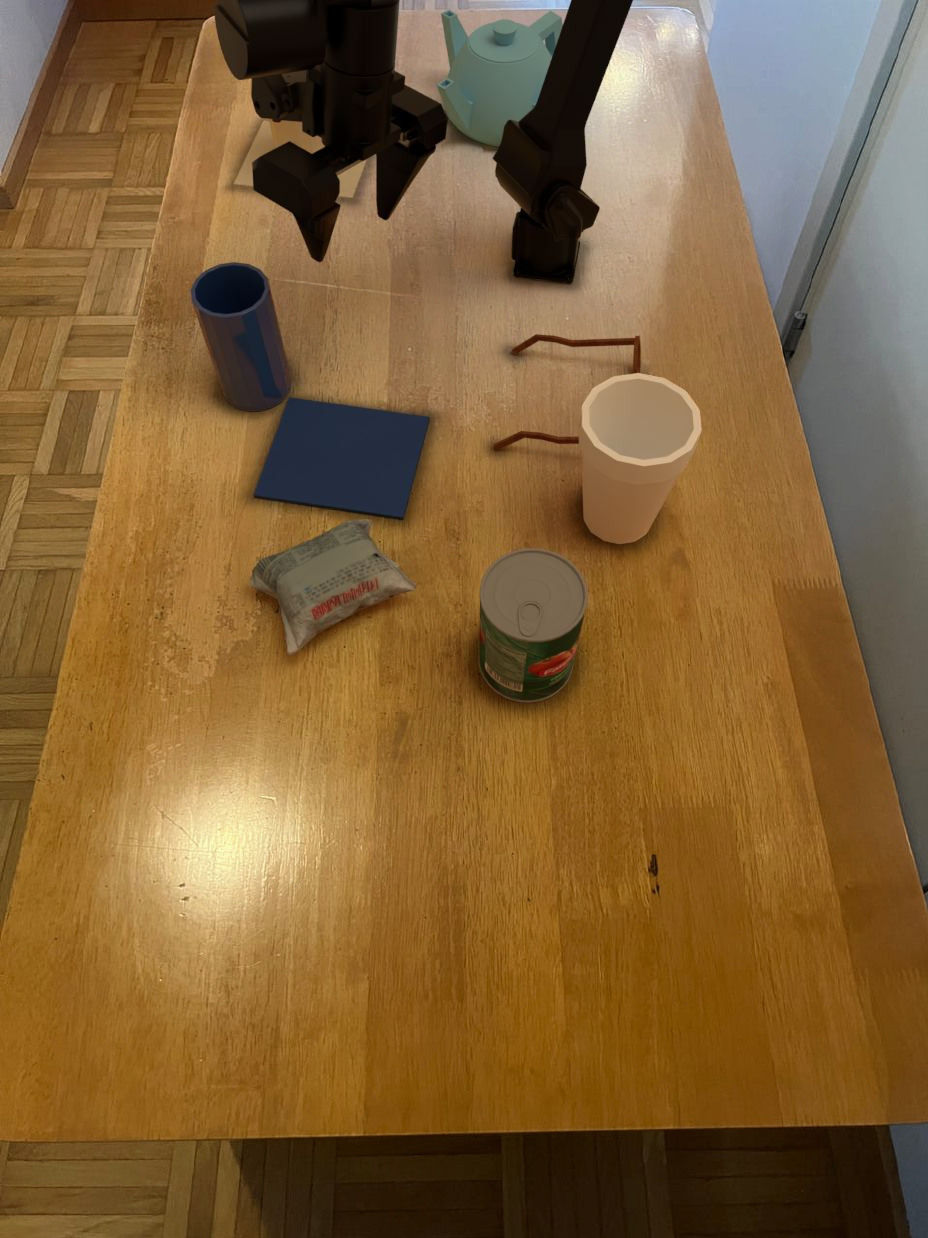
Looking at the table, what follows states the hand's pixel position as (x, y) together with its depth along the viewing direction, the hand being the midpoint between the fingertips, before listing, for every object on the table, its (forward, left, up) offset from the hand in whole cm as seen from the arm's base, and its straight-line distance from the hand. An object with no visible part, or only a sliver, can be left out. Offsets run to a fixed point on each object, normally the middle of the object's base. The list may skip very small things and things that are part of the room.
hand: (350, 238), depth 84 cm
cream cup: (+13, -27, -12) cm, 32 cm away
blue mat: (-2, +15, -12) cm, 20 cm away
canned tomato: (-22, +33, -12) cm, 42 cm away
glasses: (-22, +5, -12) cm, 26 cm away
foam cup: (-28, +17, -12) cm, 35 cm away
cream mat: (+13, -27, -12) cm, 32 cm away
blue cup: (+9, +8, -12) cm, 17 cm away
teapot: (-8, -39, -12) cm, 41 cm away
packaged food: (-5, +30, -12) cm, 33 cm away
